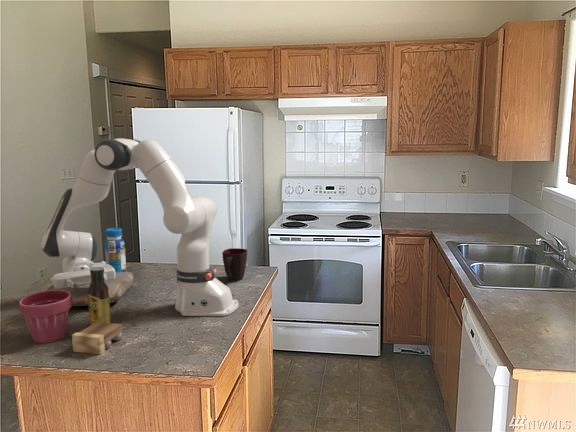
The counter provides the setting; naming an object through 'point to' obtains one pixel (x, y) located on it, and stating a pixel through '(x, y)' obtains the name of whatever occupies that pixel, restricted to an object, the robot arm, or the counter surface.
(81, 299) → the stone slab
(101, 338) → the roller board
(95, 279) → the sauce bottle
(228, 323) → the counter surface
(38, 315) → the plant pot
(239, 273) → the cup
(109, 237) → the beverage bottle
